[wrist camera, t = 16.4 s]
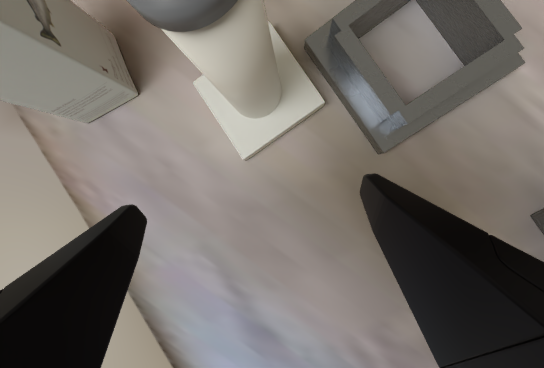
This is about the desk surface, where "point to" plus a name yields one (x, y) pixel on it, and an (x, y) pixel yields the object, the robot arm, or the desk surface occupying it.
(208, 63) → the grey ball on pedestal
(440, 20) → the frame
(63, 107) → the supplement box
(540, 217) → the block
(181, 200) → the desk surface
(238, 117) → the pad
